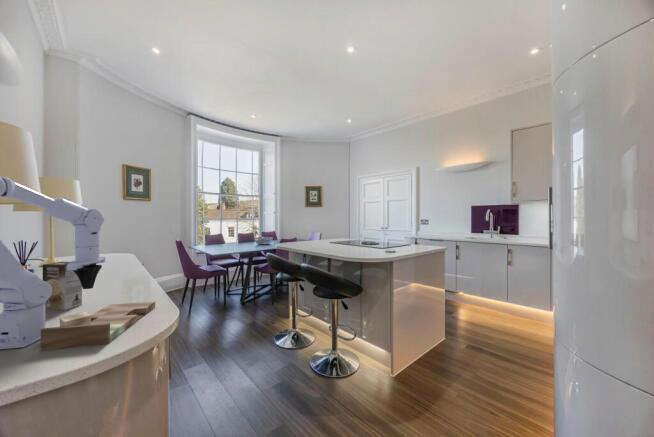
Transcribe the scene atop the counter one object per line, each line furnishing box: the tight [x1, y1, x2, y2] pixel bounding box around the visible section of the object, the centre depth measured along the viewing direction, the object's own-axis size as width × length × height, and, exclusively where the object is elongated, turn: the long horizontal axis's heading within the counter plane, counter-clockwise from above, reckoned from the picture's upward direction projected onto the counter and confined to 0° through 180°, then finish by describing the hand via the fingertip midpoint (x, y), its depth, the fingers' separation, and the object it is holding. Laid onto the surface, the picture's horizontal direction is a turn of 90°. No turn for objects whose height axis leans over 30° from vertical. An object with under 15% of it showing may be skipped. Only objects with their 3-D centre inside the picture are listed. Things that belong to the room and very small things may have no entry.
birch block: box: [59, 311, 92, 327], centre depth 68 cm, size 5×5×4 cm
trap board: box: [40, 300, 156, 351], centre depth 78 cm, size 28×14×5 cm, turn 13°
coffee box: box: [42, 261, 83, 311], centre depth 93 cm, size 9×6×16 cm
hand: (88, 288), depth 83 cm, fingers closed
